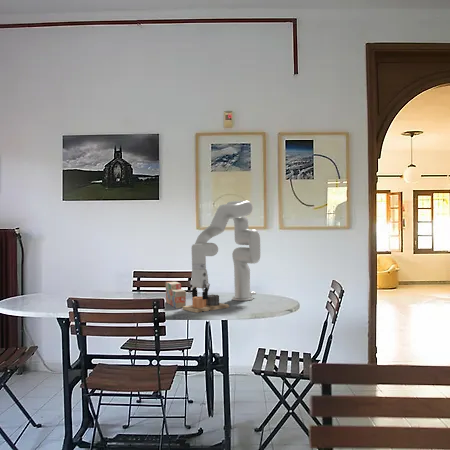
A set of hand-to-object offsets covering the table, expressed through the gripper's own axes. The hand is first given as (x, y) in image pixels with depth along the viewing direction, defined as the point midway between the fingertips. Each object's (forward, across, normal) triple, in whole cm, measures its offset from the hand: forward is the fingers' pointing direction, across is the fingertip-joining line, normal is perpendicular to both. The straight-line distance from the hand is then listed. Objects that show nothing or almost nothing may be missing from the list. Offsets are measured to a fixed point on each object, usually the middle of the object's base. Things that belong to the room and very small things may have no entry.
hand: (199, 298), depth 261 cm
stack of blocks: (+6, +21, +2) cm, 22 cm away
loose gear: (+5, 0, +1) cm, 5 cm away
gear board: (+6, 0, -4) cm, 7 cm away
